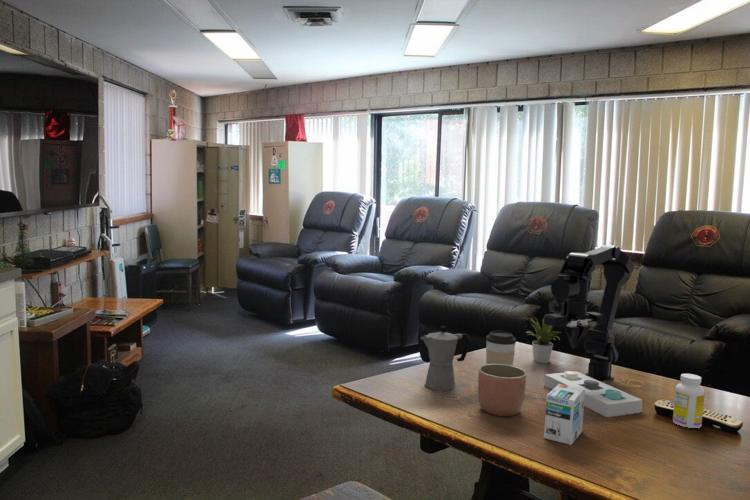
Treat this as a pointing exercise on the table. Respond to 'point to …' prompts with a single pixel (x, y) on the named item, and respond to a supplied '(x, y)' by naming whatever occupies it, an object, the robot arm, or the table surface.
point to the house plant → (542, 342)
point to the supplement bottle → (689, 402)
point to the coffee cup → (500, 348)
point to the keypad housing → (598, 396)
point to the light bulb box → (564, 414)
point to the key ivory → (570, 375)
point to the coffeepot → (443, 358)
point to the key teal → (613, 394)
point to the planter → (501, 389)
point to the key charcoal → (591, 384)
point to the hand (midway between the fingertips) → (573, 347)
